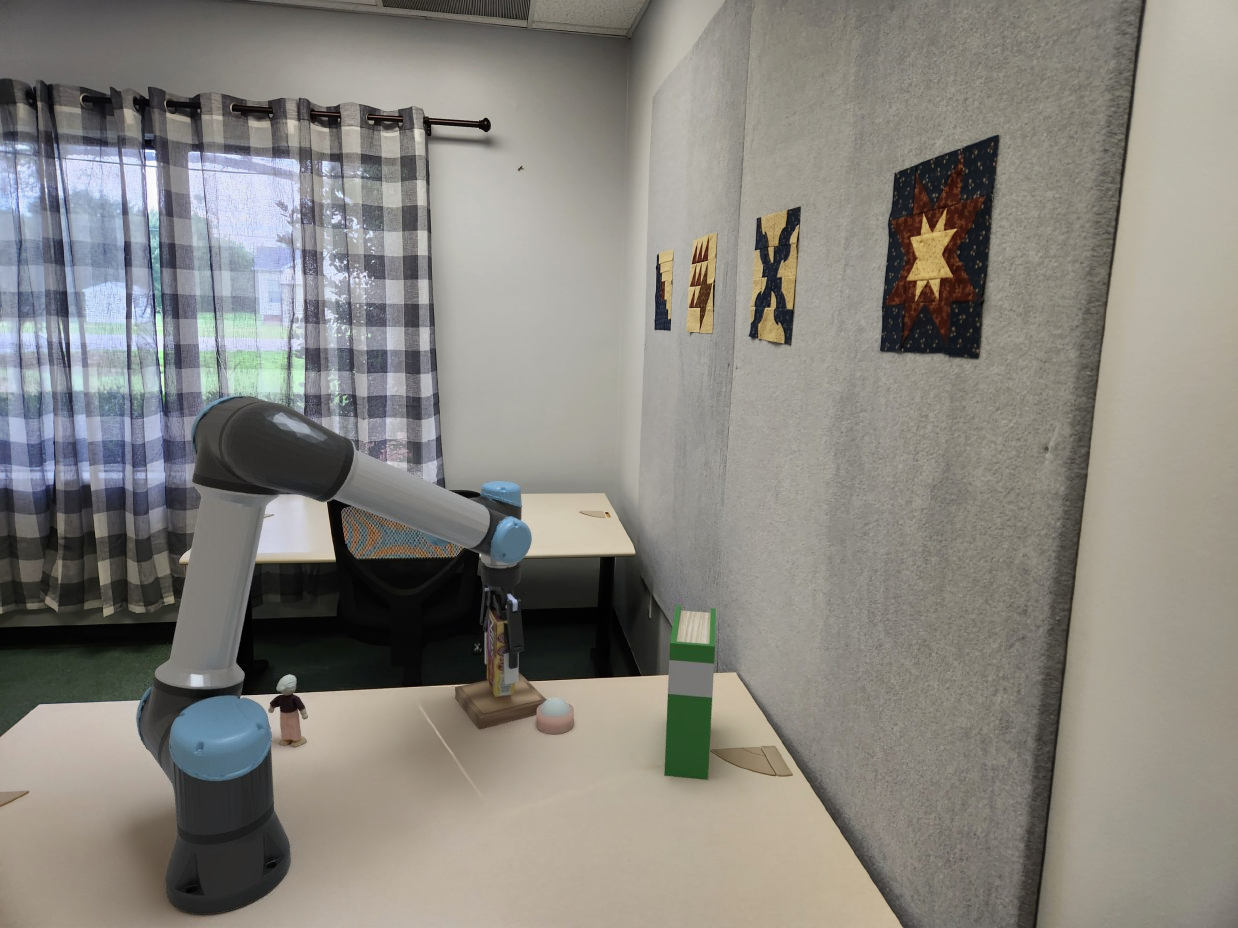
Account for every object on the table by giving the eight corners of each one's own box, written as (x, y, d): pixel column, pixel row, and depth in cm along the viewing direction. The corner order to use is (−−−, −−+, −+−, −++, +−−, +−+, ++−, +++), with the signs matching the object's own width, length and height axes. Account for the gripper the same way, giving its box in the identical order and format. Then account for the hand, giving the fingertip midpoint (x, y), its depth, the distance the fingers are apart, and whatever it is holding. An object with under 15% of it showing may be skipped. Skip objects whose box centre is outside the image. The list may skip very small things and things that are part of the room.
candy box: (517, 694, 148) (517, 620, 145) (494, 698, 146) (495, 622, 144) (507, 675, 156) (507, 603, 153) (486, 677, 155) (486, 606, 152)
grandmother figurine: (315, 736, 140) (313, 671, 137) (307, 748, 136) (303, 681, 134) (274, 735, 140) (270, 670, 137) (264, 746, 136) (260, 679, 134)
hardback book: (670, 723, 148) (676, 605, 144) (709, 727, 147) (715, 608, 143) (664, 775, 131) (669, 642, 127) (707, 779, 130) (715, 646, 126)
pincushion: (579, 732, 144) (580, 702, 143) (546, 741, 140) (546, 711, 139) (563, 715, 150) (563, 687, 149) (530, 724, 146) (530, 695, 145)
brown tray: (548, 715, 150) (548, 700, 149) (480, 732, 143) (480, 717, 142) (519, 686, 161) (519, 672, 161) (455, 700, 154) (455, 686, 154)
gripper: (543, 576, 139) (542, 690, 143) (497, 545, 158) (497, 647, 162) (505, 581, 136) (504, 699, 139) (462, 549, 154) (463, 654, 158)
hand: (501, 671), depth 151 cm, fingers closed on candy box, 9 cm apart
